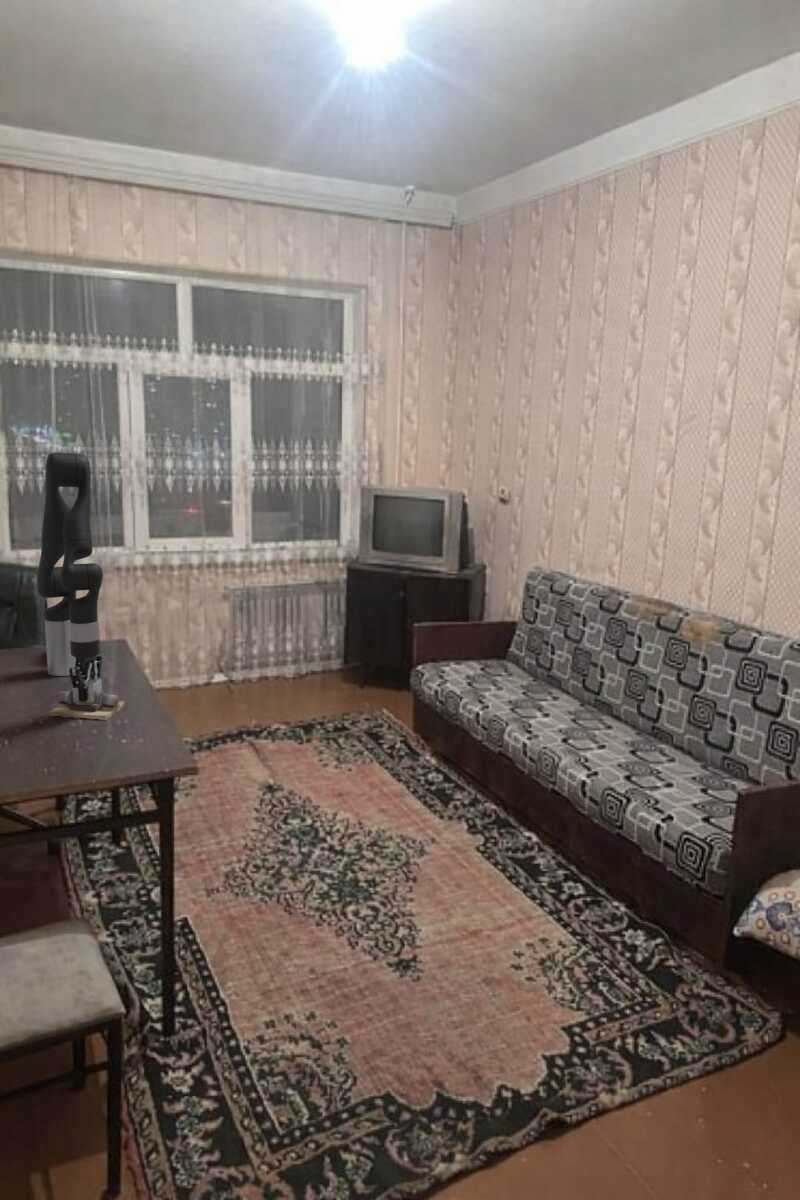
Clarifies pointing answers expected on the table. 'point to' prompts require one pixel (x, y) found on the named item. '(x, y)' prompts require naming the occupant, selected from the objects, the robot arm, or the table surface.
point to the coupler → (89, 691)
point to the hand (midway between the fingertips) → (87, 697)
